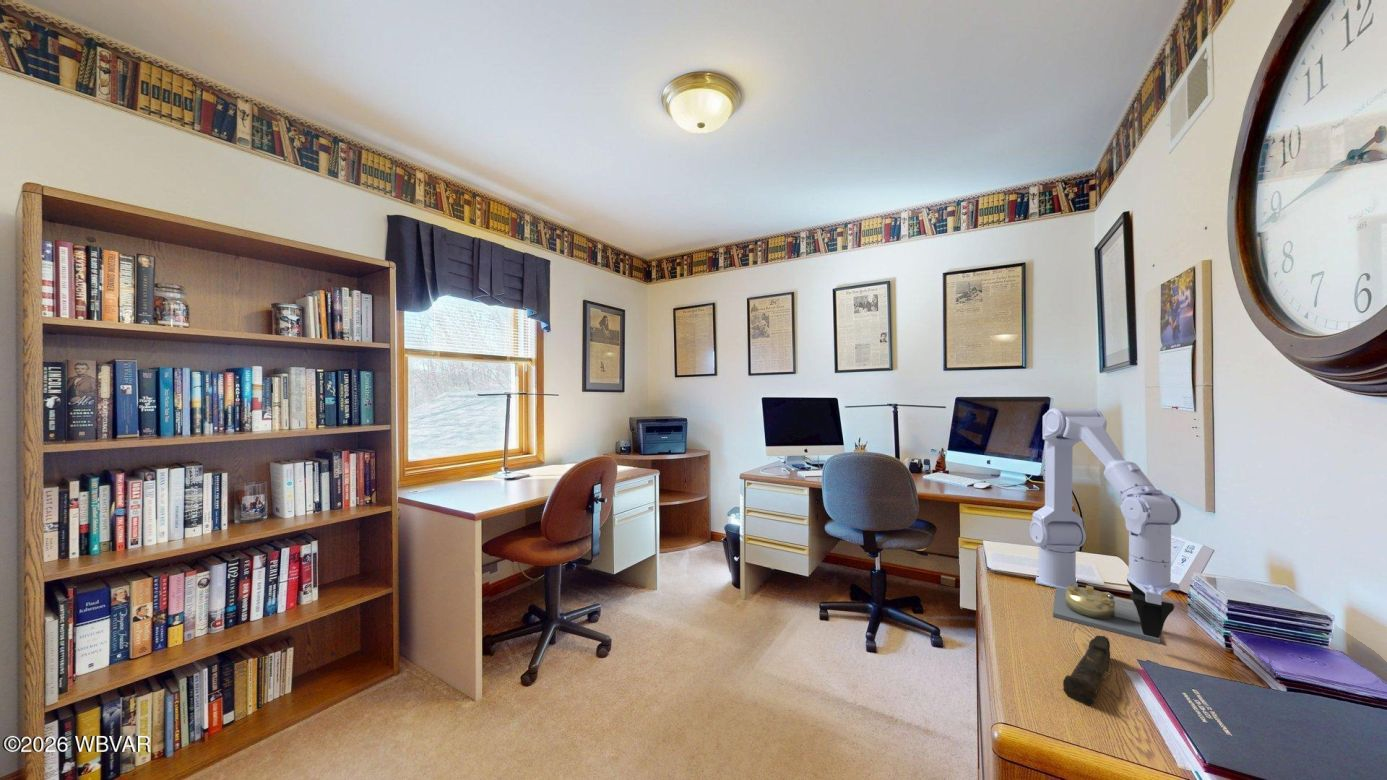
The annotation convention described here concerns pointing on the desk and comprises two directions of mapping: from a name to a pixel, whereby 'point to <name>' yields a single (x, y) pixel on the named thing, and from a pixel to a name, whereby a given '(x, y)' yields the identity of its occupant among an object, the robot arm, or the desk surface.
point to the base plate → (1098, 619)
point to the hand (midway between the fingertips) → (1148, 627)
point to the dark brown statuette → (1089, 672)
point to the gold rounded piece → (1100, 604)
